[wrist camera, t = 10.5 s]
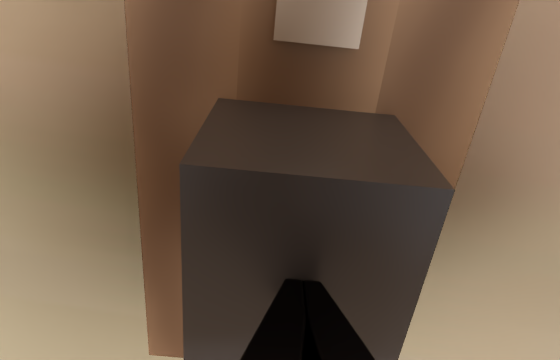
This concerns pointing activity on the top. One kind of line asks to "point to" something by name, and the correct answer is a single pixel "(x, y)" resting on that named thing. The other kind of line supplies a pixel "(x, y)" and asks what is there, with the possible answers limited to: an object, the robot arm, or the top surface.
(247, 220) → the dark grey block
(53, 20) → the top surface
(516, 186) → the top surface
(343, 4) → the socket box
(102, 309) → the top surface
